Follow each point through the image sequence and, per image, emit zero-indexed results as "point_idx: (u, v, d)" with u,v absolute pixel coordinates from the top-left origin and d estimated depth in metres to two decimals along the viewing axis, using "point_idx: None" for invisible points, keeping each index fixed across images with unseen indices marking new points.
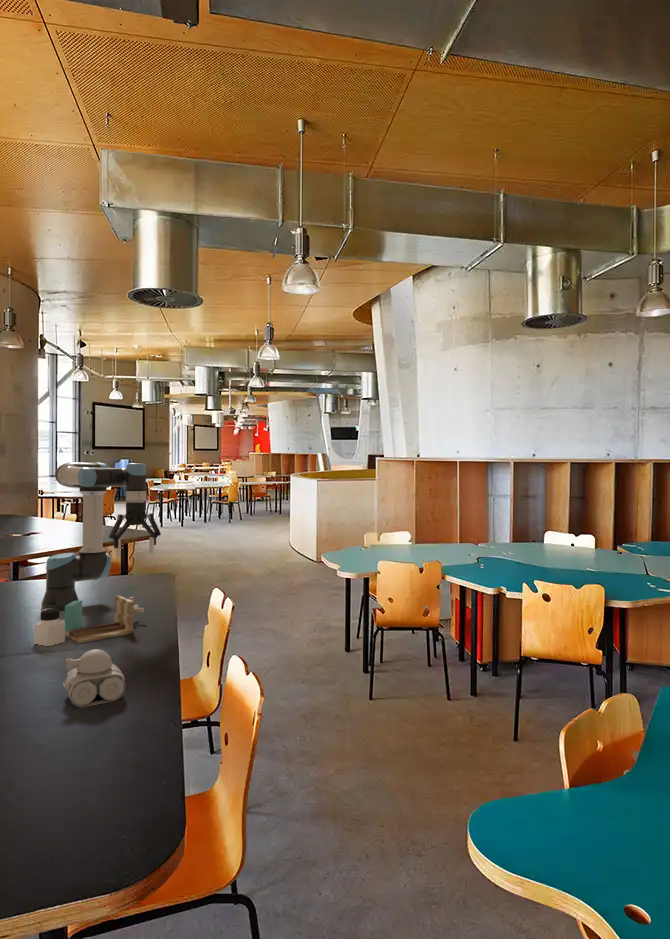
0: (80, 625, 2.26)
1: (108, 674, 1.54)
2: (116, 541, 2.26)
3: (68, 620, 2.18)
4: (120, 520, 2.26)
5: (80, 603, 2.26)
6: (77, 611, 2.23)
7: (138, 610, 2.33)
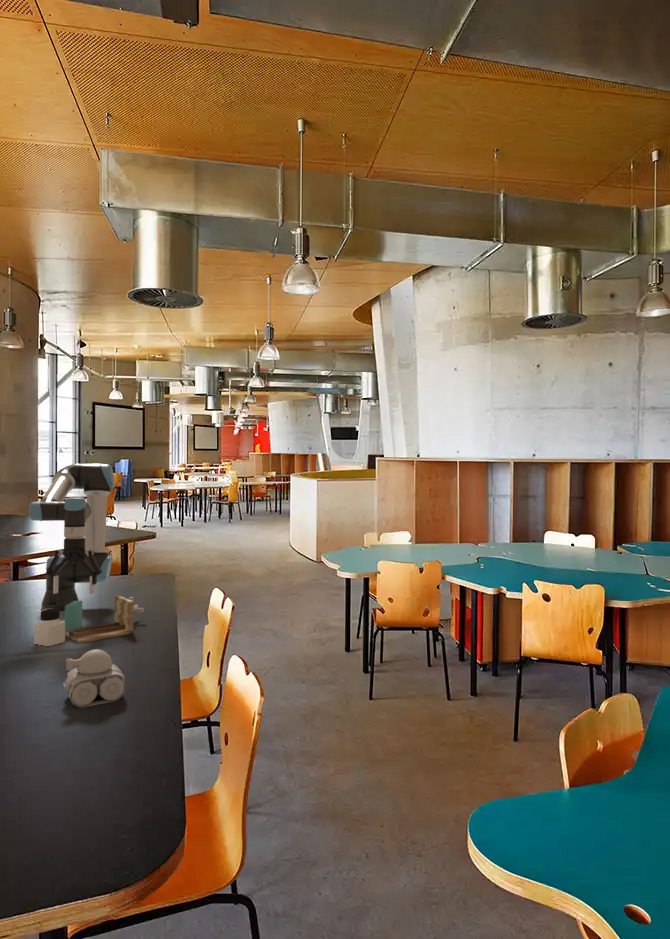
0: (80, 625, 2.26)
1: (108, 674, 1.54)
2: (52, 577, 2.22)
3: (68, 620, 2.18)
4: (55, 556, 2.21)
5: (80, 603, 2.26)
6: (77, 611, 2.23)
7: (138, 610, 2.33)
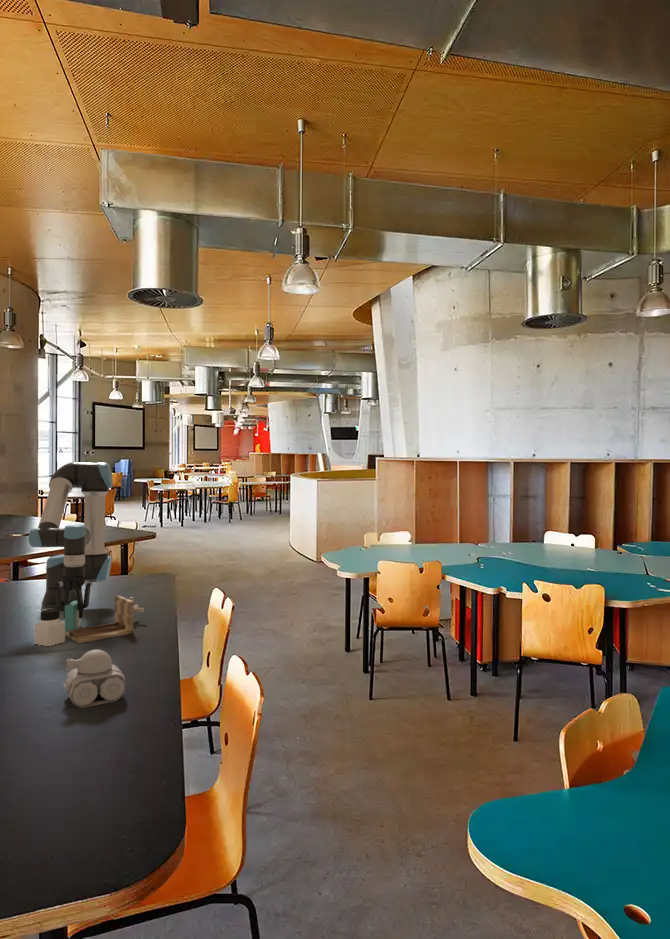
0: None
1: (109, 674, 1.54)
2: None
3: (68, 620, 2.18)
4: (58, 588, 2.22)
5: None
6: None
7: (138, 610, 2.33)
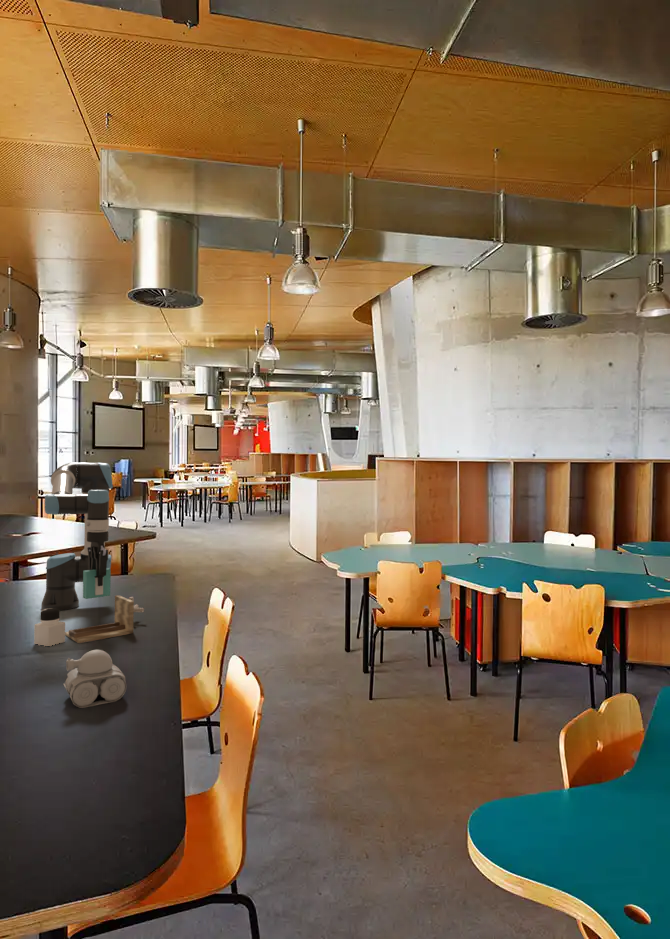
0: (106, 594, 2.18)
1: (109, 674, 1.54)
2: None
3: (84, 586, 2.14)
4: (88, 553, 2.20)
5: None
6: None
7: (138, 610, 2.33)
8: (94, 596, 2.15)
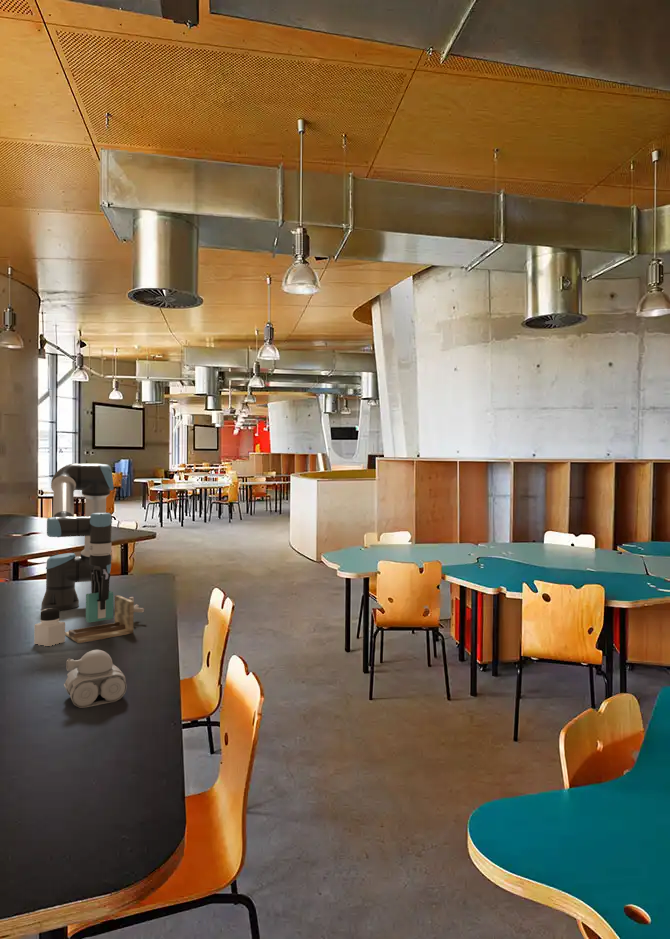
0: (108, 617, 2.18)
1: (109, 674, 1.54)
2: None
3: (87, 609, 2.14)
4: (91, 575, 2.20)
5: None
6: None
7: (138, 610, 2.33)
8: (97, 619, 2.15)
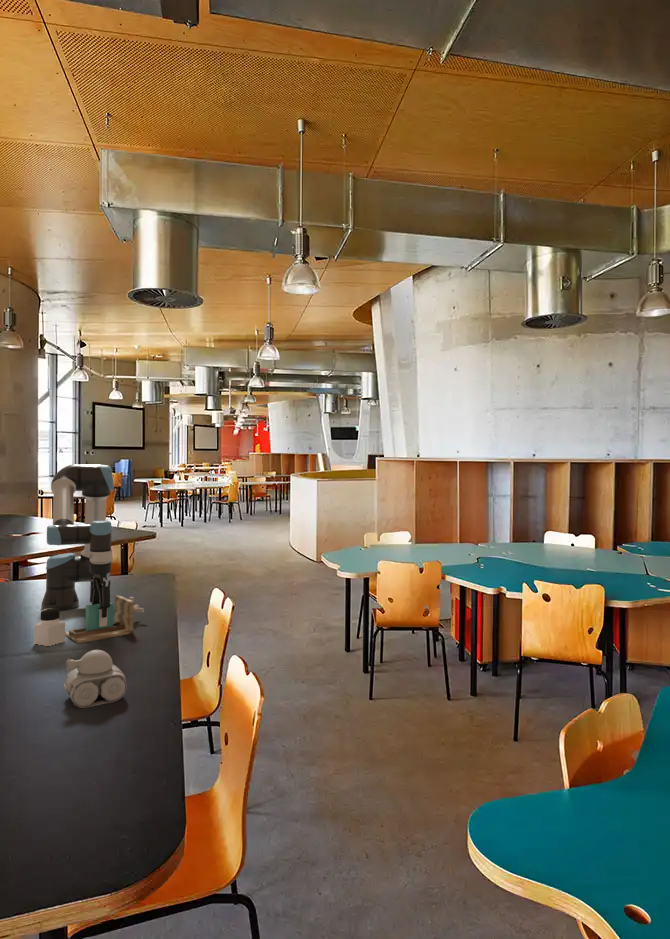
0: None
1: (110, 674, 1.53)
2: None
3: (86, 621, 2.14)
4: (91, 582, 2.20)
5: None
6: None
7: (138, 610, 2.33)
8: None
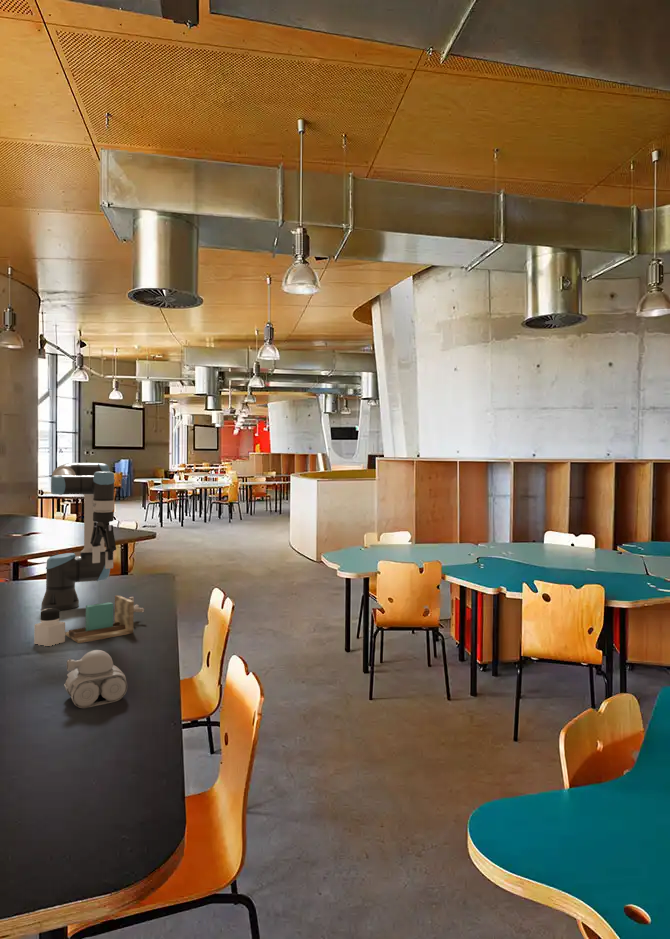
0: None
1: (110, 674, 1.53)
2: None
3: (86, 621, 2.14)
4: (93, 527, 2.30)
5: (108, 606, 2.18)
6: (100, 613, 2.16)
7: (138, 610, 2.33)
8: None
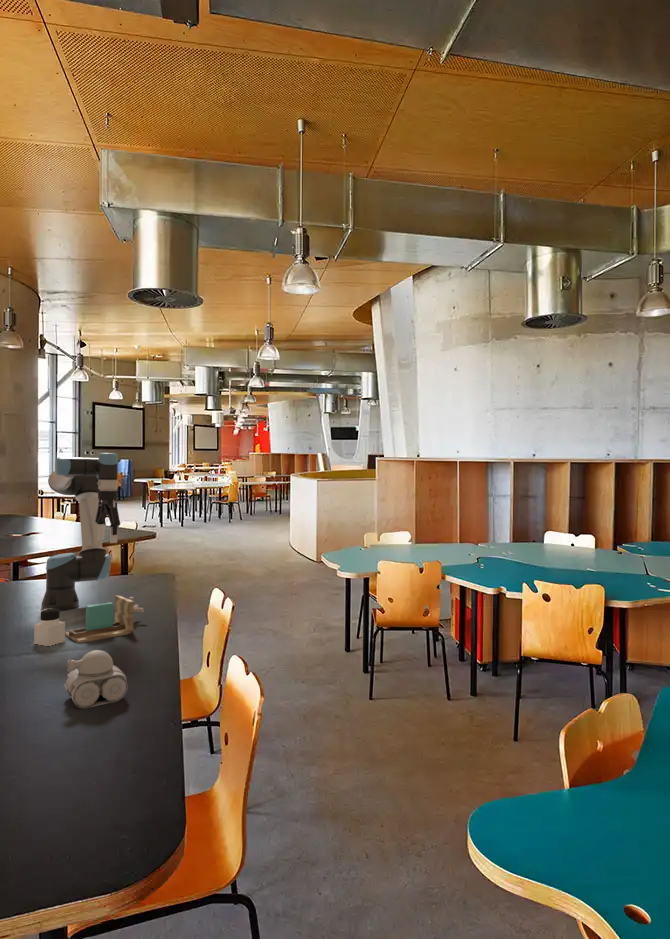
0: None
1: (111, 674, 1.53)
2: (98, 525, 2.46)
3: (86, 621, 2.14)
4: (98, 506, 2.45)
5: (108, 606, 2.18)
6: (100, 613, 2.16)
7: (138, 610, 2.33)
8: None
